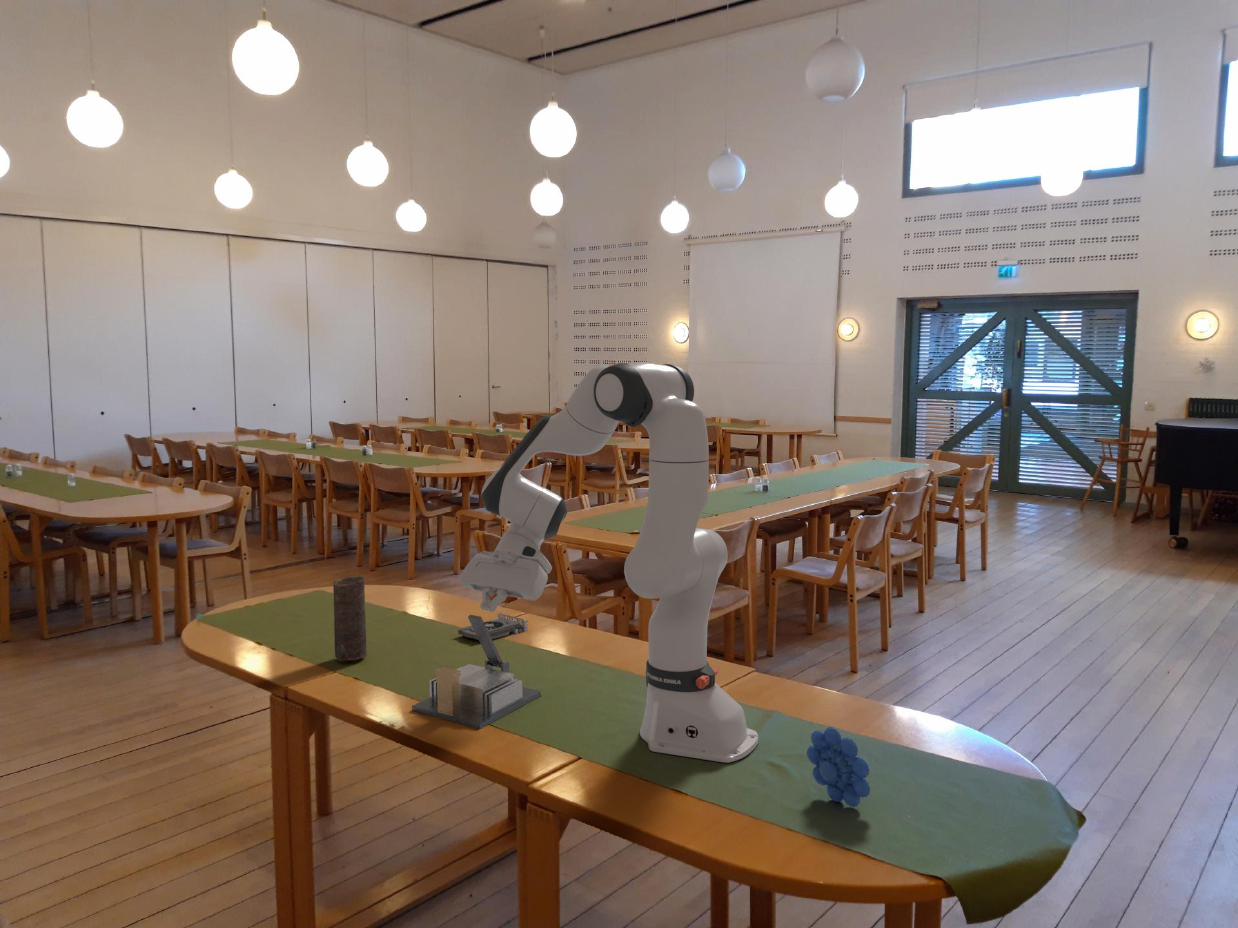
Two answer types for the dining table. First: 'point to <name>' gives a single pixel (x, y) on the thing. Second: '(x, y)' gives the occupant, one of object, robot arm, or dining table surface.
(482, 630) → the retention strap
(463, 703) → the grey boxy piece
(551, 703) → the dining table surface
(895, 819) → the dining table surface
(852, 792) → the blue flower
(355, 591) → the candle
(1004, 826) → the dining table surface
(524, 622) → the graphics card
